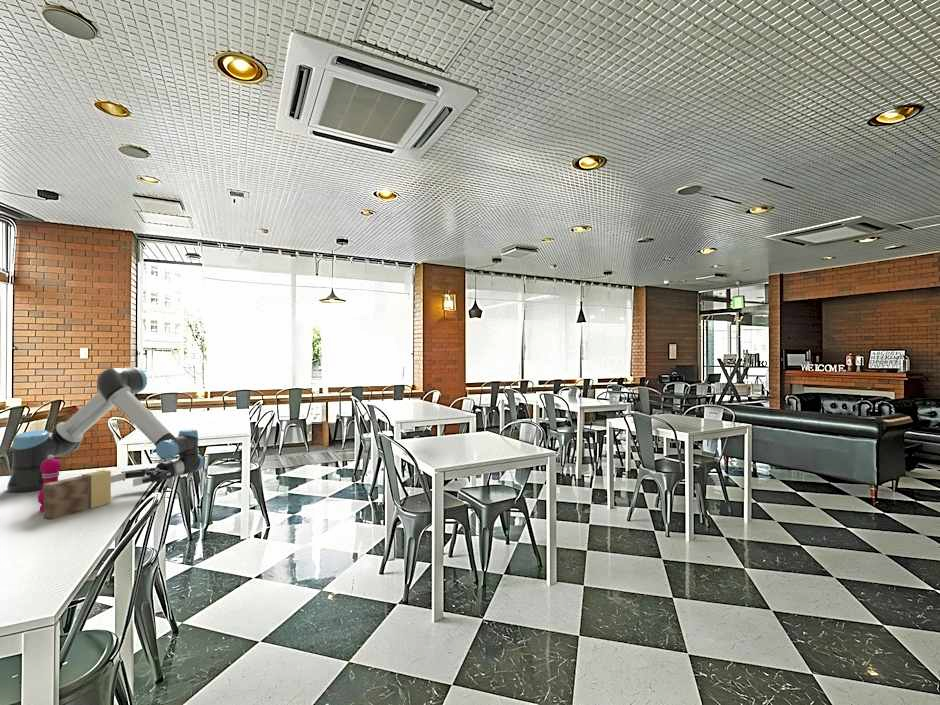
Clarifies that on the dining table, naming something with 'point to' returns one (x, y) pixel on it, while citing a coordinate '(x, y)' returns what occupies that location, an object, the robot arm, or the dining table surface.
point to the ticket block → (65, 497)
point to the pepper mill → (48, 475)
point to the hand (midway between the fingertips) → (121, 481)
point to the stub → (99, 488)
